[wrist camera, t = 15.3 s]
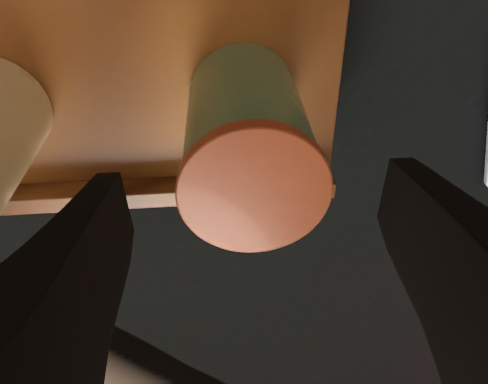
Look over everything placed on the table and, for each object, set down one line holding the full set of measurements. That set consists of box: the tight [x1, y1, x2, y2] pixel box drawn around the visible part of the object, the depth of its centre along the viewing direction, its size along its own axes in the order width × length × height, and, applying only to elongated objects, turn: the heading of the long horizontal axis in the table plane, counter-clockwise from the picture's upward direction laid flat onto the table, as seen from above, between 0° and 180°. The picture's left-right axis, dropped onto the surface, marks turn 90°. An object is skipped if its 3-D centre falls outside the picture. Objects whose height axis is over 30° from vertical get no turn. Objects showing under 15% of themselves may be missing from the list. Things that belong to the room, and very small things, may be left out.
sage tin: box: [175, 43, 333, 252], centre depth 14 cm, size 4×4×6 cm
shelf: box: [0, 0, 350, 216], centre depth 18 cm, size 17×9×5 cm, turn 91°
